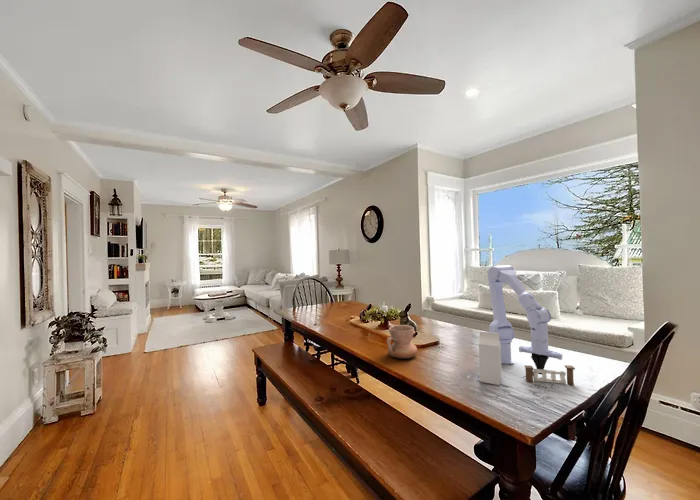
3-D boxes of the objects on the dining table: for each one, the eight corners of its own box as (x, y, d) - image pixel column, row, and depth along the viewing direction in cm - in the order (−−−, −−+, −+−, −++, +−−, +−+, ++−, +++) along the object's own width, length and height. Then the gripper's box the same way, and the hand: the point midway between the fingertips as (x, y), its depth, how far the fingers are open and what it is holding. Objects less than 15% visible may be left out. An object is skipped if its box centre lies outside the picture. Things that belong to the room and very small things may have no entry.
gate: (565, 382, 114) (564, 371, 114) (566, 383, 113) (565, 372, 113) (533, 379, 118) (533, 368, 118) (534, 380, 116) (534, 369, 116)
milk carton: (499, 385, 114) (498, 335, 114) (479, 381, 118) (478, 333, 118) (501, 378, 120) (500, 331, 120) (482, 375, 124) (481, 329, 124)
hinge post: (568, 385, 112) (567, 367, 113) (565, 382, 115) (564, 365, 115) (575, 385, 112) (574, 368, 112) (572, 382, 114) (572, 365, 114)
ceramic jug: (405, 348, 160) (404, 322, 160) (425, 356, 147) (424, 327, 147) (378, 356, 150) (377, 328, 150) (397, 365, 138) (396, 334, 138)
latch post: (526, 382, 116) (526, 367, 116) (525, 379, 118) (524, 365, 118) (534, 382, 115) (533, 368, 115) (532, 379, 118) (531, 365, 118)
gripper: (563, 340, 117) (564, 375, 116) (522, 333, 127) (523, 365, 127) (559, 344, 112) (560, 381, 112) (516, 337, 122) (518, 370, 122)
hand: (540, 373), depth 119 cm, fingers closed
